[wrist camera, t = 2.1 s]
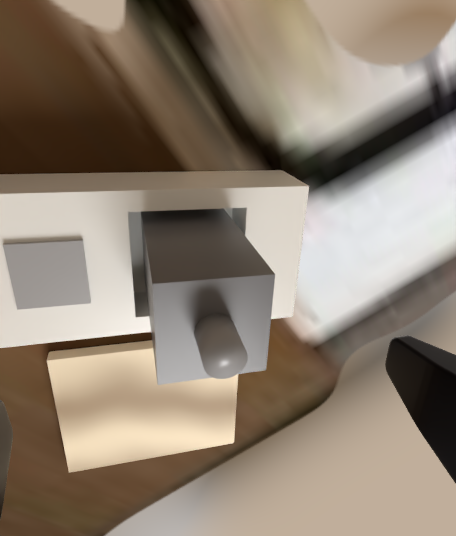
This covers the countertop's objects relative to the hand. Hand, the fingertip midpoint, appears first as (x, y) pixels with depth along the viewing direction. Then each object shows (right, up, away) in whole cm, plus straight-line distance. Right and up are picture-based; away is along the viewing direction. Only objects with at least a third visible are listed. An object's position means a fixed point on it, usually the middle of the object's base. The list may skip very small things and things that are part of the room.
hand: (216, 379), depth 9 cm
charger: (-2, +4, +11) cm, 12 cm away
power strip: (-5, +4, +12) cm, 13 cm away
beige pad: (-5, -6, +16) cm, 18 cm away
